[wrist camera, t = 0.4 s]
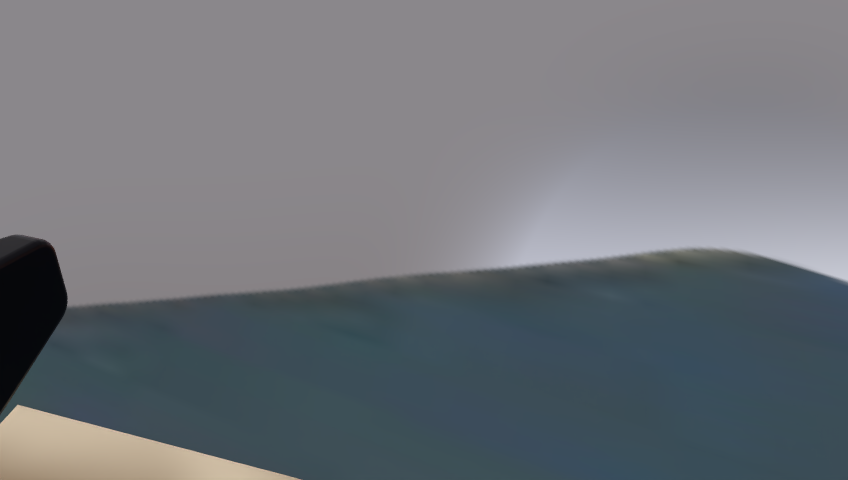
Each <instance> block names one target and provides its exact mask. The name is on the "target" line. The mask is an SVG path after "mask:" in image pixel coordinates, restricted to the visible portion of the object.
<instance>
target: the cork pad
mask: <svg viewBox="0 0 848 480" xmlns="http://www.w3.org/2000/svg"><path fill="white" fill-rule="evenodd" d="M0 480H301V479H297V478H293V477H290V476H286V475H282V474H278V473H274V472H271V471H267V470H263V469H259V468H255V467H252V466H248V465H244V464H240V463H236V462H233V461H229V460H225V459H221V458H217V457H213V456H210V455H206V454H202V453H198V452H194V451H191V450H187V449H183V448H179V447H175V446H172V445H168V444H164V443H160V442H156V441H153V440H149V439H145V438H141V437H137V436H134V435H130V434H126V433H122V432H118V431H115V430H111V429H107V428H103V427H99V426H96V425H92V424H88V423H84V422H80V421H77V420H73V419H69V418H65V417H61V416H58V415H54V414H50V413H46V412H42V411H39V410H35V409H31V408H27V407H23V406H20V405H17V406H16V407H15V409H14V410H13V411H12V412H11V413H10V414H9V415H8V416H7V417H6V418H5V419H4V420H3V422H2V423H1V424H0Z"/></svg>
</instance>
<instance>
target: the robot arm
mask: <svg viewBox="0 0 848 480" xmlns="http://www.w3.org/2000/svg"><path fill="white" fill-rule="evenodd" d="M66 307H67V292H66V288H65V284H64V281H63V278H62V274H61V270H60V267H59V263H58V259H57V256H56V252H55V250H54V248H53V246H52V245H51V244H50V243H49V242H47V241H46V240H43V239H39V238H34V237H28V236H24V235H11V236H8V237H5V238H2V239H0V414H1V413H2V411H3V410H4V408H5V407H6V405H7V404H8V402H9V401H10V399H11V398H12V396H13V395H14V393H15V391H16V390H17V388H18V387H19V385H20V384H21V382H22V380H23V379H24V377H25V376H26V374H27V373H28V371H29V369H30V368H31V366H32V365H33V363H34V362H35V360H36V358H37V357H38V355H39V354H40V352H41V351H42V349H43V347H44V346H45V344H46V343H47V341H48V340H49V338H50V336H51V335H52V333H53V332H54V330H55V329H56V327H57V325H58V324H59V322H60V321H61V319H62V317H63V316H64V313H65V311H66Z"/></svg>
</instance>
